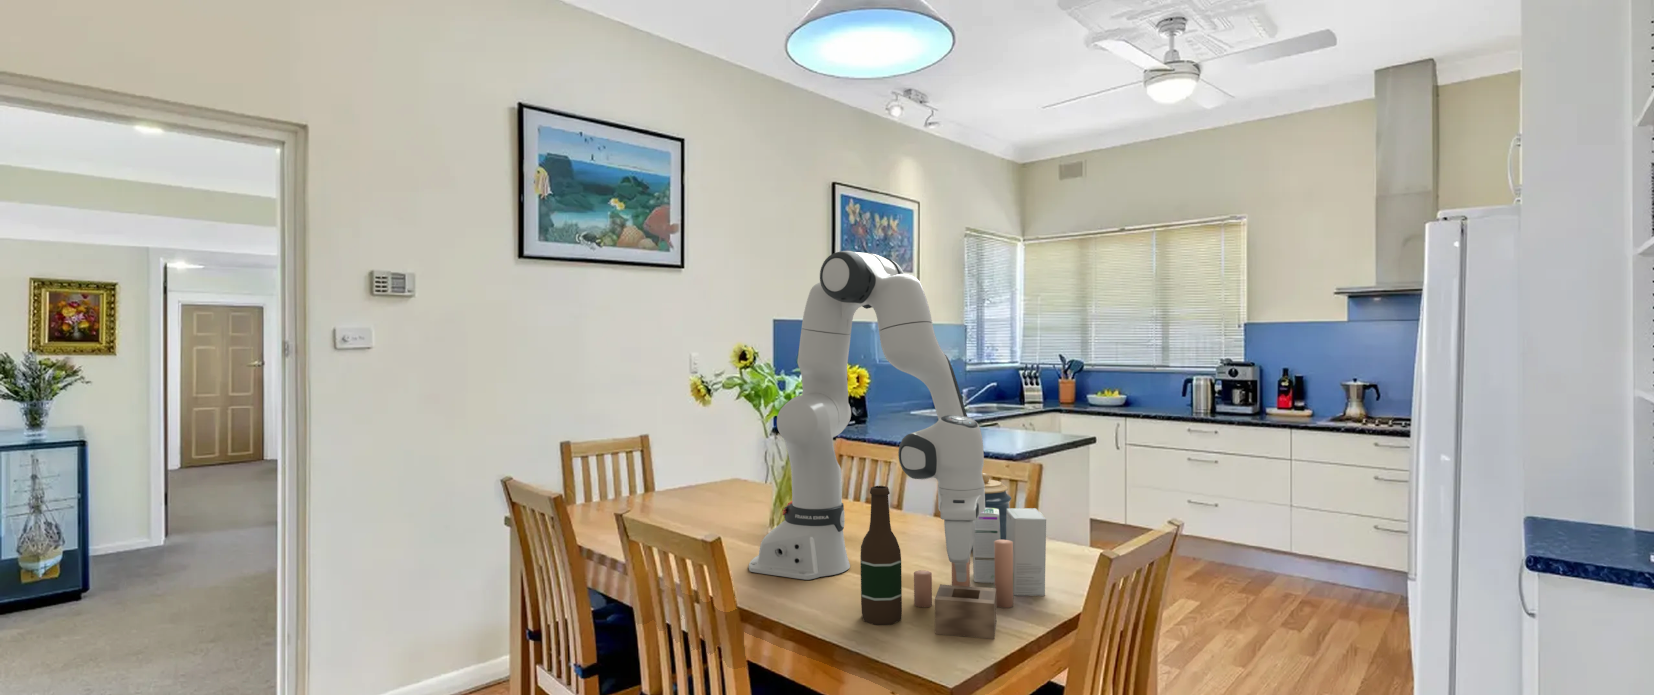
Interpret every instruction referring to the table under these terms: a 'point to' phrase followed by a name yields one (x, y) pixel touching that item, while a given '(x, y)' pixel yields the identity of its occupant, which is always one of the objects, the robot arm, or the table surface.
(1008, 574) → the pin long
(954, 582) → the pin medium
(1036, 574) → the skincare box
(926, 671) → the table surface
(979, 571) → the syrup box
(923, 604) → the pin short
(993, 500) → the canister
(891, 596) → the beer bottle
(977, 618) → the hole block
